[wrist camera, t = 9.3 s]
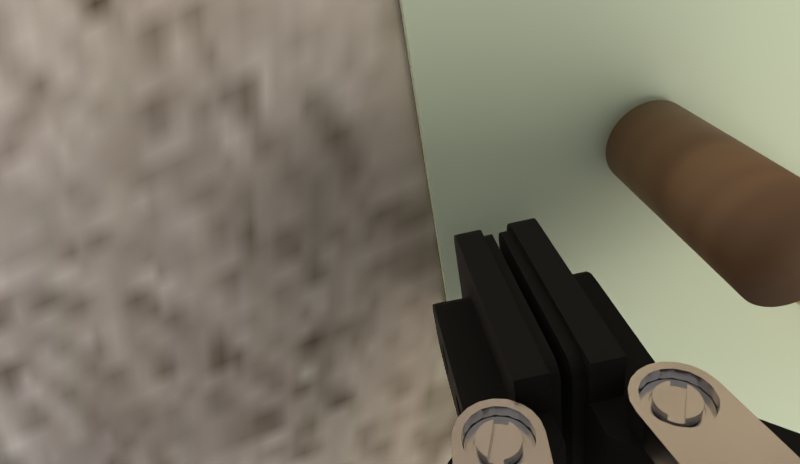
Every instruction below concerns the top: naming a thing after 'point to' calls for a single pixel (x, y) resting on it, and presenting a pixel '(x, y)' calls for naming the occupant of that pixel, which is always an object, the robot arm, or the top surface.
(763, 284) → the fence panel
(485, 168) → the board
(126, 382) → the top surface
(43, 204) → the top surface
